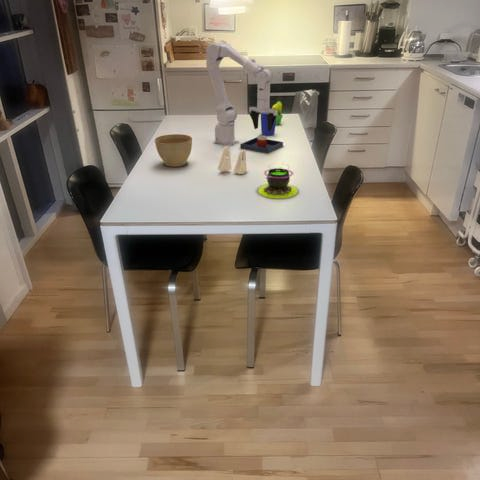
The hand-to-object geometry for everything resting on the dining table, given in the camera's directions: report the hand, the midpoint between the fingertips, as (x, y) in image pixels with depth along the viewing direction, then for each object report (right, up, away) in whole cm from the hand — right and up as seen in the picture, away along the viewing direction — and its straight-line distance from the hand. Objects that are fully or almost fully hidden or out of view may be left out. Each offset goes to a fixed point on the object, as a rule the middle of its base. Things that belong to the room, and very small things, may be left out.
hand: (262, 129), depth 226 cm
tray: (0, -7, +5) cm, 8 cm away
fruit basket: (+8, +21, +44) cm, 50 cm away
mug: (+4, +8, +26) cm, 28 cm away
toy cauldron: (+4, -41, -42) cm, 59 cm away
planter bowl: (-40, -21, -15) cm, 47 cm away
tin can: (0, -7, +5) cm, 8 cm away
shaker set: (-14, -28, -25) cm, 40 cm away
